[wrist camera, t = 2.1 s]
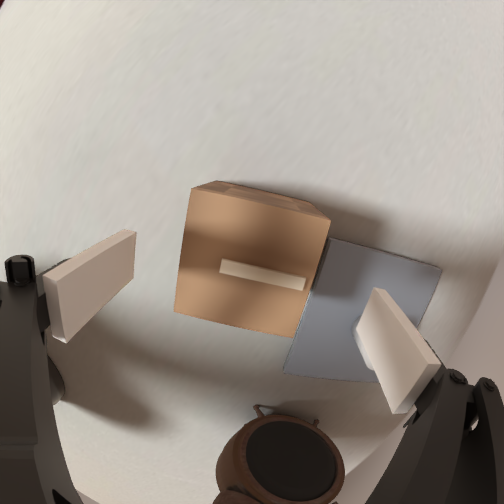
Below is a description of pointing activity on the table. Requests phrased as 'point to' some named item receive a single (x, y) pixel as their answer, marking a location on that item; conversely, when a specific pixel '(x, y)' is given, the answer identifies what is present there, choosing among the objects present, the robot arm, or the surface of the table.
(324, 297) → the plate
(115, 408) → the table surface
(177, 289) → the tan drawer box
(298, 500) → the alarm clock
